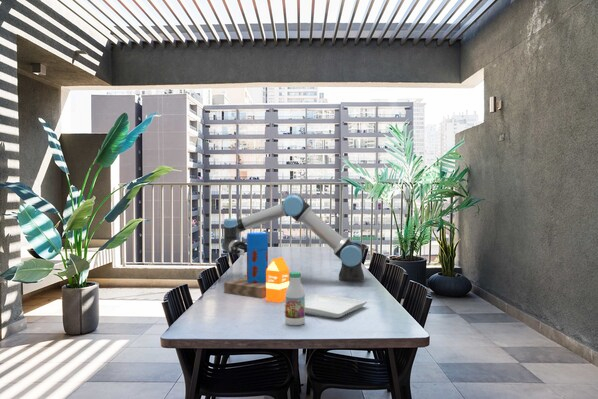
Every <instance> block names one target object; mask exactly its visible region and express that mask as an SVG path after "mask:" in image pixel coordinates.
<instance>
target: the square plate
mask: <svg viewBox="0 0 598 399" xmlns="http://www.w3.org/2000/svg"><path fill="white" fill-rule="evenodd" d="M367 303H368V302H367V300H359V299H356V298H355V299H354V298H351V297H350V298H349V297H344V296H339V295H337V296H335V295H328V294H320V293H319V294H318V293H314V294H311V295H308V296H305V313H306V314H305V315H311V314H312V316H317V315H319V316H318V317H323V316H324V318H330V317H332V319H333V318H335V319H337V318H340V317H344V316H345V314H346V315H347V313H348V314H350V313H351V312H355V311H357V310H358V309H360V308H362V307H364V306H365V305H367ZM349 312H350V313H349Z"/></svg>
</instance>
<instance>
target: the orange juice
mask: <svg viewBox="0 0 598 399" xmlns="http://www.w3.org/2000/svg"><path fill="white" fill-rule="evenodd" d="M289 273H290V268H289V267H288V265H287V263H286V262H285V260H284V257H282V256H280V257H277V258H273V259H272V260H271V261H270V263H269V264H268V268H267V269H266V297H265V301H266V302H273V303H282V302H285V297H286V290H287V287H288V285H289V282H290V278H289Z"/></svg>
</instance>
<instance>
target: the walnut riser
mask: <svg viewBox="0 0 598 399" xmlns="http://www.w3.org/2000/svg"><path fill="white" fill-rule="evenodd" d="M223 285H224V286H223V287H224V289H223V290H224V291H223V292H224V293H225V294H232V295H238V296H243V297H244V296H245V297H251V298H257V299H264V298H265V299H266V282H265V283H249V282H247V276H246V277H243V278H238V279H235V280H231V281H227V282H224V284H223Z"/></svg>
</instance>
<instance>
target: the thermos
mask: <svg viewBox="0 0 598 399" xmlns="http://www.w3.org/2000/svg"><path fill="white" fill-rule="evenodd" d="M246 234H247V235H246V245H247V252H246V277H247V282H249V283H265V282H266V269H267V268H268V266H269V262H268V261H269V248H268V247H269V243H268V242H269V240H268V239H269V235H268V233H267V232H248V233H246Z"/></svg>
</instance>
